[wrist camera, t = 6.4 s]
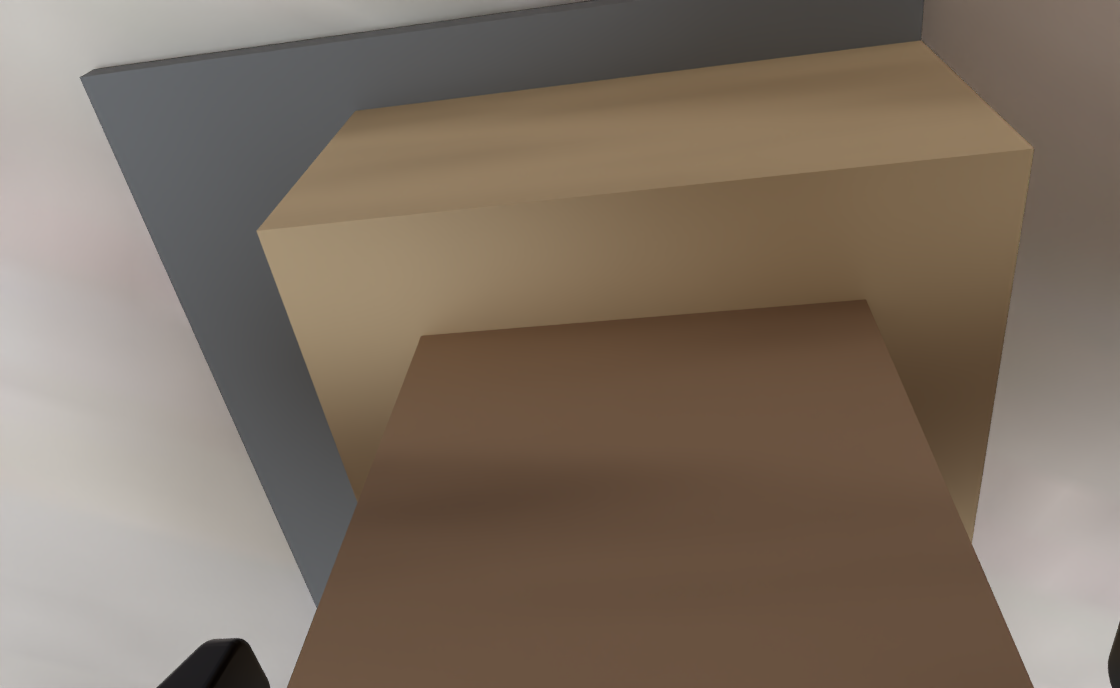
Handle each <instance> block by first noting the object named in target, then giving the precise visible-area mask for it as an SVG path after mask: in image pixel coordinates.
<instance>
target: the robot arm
mask: <svg viewBox="0 0 1120 688" xmlns="http://www.w3.org/2000/svg"><path fill="white" fill-rule="evenodd" d="M1108 673H1109V678H1110V683H1111V686H1112V688H1120V623H1119V626H1118V629H1117V632H1116V636H1115V639H1114V642H1113V645H1112V649H1111V652H1110V655H1109V660H1108ZM157 688H270V685H269V681H268V679H267V677H266V675H265V673H264V672H263V670H262V668H261V666H260V664H259V662H258V660H257V658H256V656H255V654H254V653H253V651H252V649H251V647H250V645H249V644H248V642H246V641H245V640H243V639H240V638H230V639H213V640H209V641H207V642H205V643H204V644H202V645H201V646H200V647H198V648H197V649H196V650H195V651H194V652H193V653H192V654H191V655H190V656H189V657H188V658H187V659H186V660H185V661H184V662H183V663H182V664H181V665H180V666H179V667H178V668H177V669H176V670H174V671H173V672H172V673H171V674H170V675H169V676H168V677H167V678H166V679H165V680H164V681H163V682H162V683H161V684H160V685H159V686H158V687H157Z"/></svg>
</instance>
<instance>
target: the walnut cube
mask: <svg viewBox="0 0 1120 688" xmlns="http://www.w3.org/2000/svg"><path fill="white" fill-rule="evenodd" d="M287 688H1034V687H1033V685H1032V682H1031V680H1030V678H1029V675H1028V673H1027V671H1026V668H1025V666H1024V664H1023V661H1022V659H1021V657H1020V655H1019V652H1018V650H1017V648H1016V645H1015V643H1014V641H1013V638H1012V636H1011V634H1010V631H1009V629H1008V627H1007V624H1006V622H1005V620H1004V618H1003V615H1002V613H1001V611H1000V608H999V606H998V604H997V601H996V599H995V597H994V594H993V592H992V590H991V587H990V585H989V583H988V581H987V578H986V576H985V574H984V571H983V569H982V567H981V564H980V562H979V560H978V557H977V555H976V553H975V550H974V548H973V546H972V544H971V541H970V539H969V537H968V534H967V532H966V530H965V527H964V525H963V523H962V520H961V518H960V516H959V513H958V511H957V509H956V507H955V504H954V502H953V500H952V497H951V495H950V493H949V490H948V488H947V486H946V483H945V481H944V479H943V476H942V474H941V472H940V470H939V467H938V465H937V463H936V460H935V458H934V456H933V453H932V451H931V449H930V446H929V444H928V442H927V439H926V437H925V435H924V433H923V430H922V428H921V426H920V423H919V421H918V419H917V416H916V414H915V412H914V409H913V407H912V405H911V402H910V400H909V398H908V396H907V393H906V391H905V389H904V386H903V384H902V382H901V379H900V377H899V375H898V372H897V370H896V368H895V365H894V363H893V361H892V359H891V356H890V354H889V352H888V349H887V347H886V345H885V342H884V340H883V338H882V335H881V333H880V331H879V328H878V326H877V324H876V322H875V319H874V317H873V315H872V312H871V310H870V308H869V305H868V303H867V301H866V299H864V300H852V301H840V302H828V303H815V304H803V305H791V306H779V307H766V308H754V309H742V310H730V311H718V312H705V313H693V314H681V315H669V316H656V317H644V318H632V319H620V320H608V321H595V322H583V323H571V324H559V325H547V326H534V327H522V328H510V329H498V330H485V331H473V332H461V333H449V334H437V335H424V336H421V337H420V340H419V343H418V345H417V348H416V350H415V353H414V356H413V358H412V361H411V364H410V366H409V369H408V371H407V374H406V377H405V379H404V382H403V385H402V387H401V390H400V392H399V395H398V398H397V400H396V403H395V405H394V408H393V411H392V413H391V416H390V419H389V421H388V424H387V426H386V429H385V432H384V434H383V437H382V440H381V442H380V445H379V447H378V450H377V453H376V455H375V458H374V461H373V463H372V466H371V468H370V471H369V474H368V476H367V479H366V482H365V484H364V487H363V489H362V492H361V495H360V497H359V500H358V503H357V505H356V508H355V510H354V513H353V516H352V518H351V521H350V524H349V526H348V529H347V531H346V534H345V537H344V539H343V542H342V545H341V547H340V550H339V552H338V555H337V558H336V560H335V563H334V566H333V568H332V571H331V573H330V576H329V579H328V581H327V584H326V587H325V589H324V592H323V594H322V597H321V600H320V602H319V605H318V608H317V610H316V613H315V615H314V618H313V621H312V623H311V626H310V629H309V631H308V634H307V636H306V639H305V642H304V644H303V647H302V650H301V652H300V655H299V657H298V660H297V663H296V665H295V668H294V671H293V673H292V676H291V678H290V681H289V684H288V686H287Z"/></svg>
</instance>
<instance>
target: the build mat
mask: <svg viewBox="0 0 1120 688" xmlns="http://www.w3.org/2000/svg"><path fill="white" fill-rule="evenodd" d="M923 7H924V0H593V1H586V2H579V3H572V4H564V5H557V6H550V7H543V8H535V9H528V10H521V11H514V12H507V13H499V14H492V15H485V16H478V17H470V18H463V19H456V20H449V21H441V22H434V23H427V24H420V25H412V26H405V27H398V28H391V29H383V30H376V31H369V32H362V33H354V34H347V35H340V36H333V37H325V38H318V39H311V40H304V41H296V42H289V43H282V44H275V45H268V46H260V47H253V48H246V49H239V50H231V51H224V52H217V53H210V54H202V55H195V56H188V57H181V58H173V59H166V60H159V61H152V62H144V63H137V64H130V65H123V66H115V67H108V68H101V69H94V70H92V71H90V72H88V73H87V74H85V75H83V76H81V77H80V79H81V81H82V83H83V86H84V88H85V90H86V92H87V95H88V97H89V99H90V101H91V104H92V106H93V108H94V110H95V112H96V115H97V117H98V119H99V121H100V124H101V126H102V128H103V130H104V133H105V135H106V137H107V139H108V142H109V144H110V146H111V148H112V151H113V153H114V155H115V157H116V160H117V162H118V164H119V166H120V168H121V171H122V173H123V175H124V177H125V180H126V182H127V184H128V186H129V189H130V191H131V193H132V195H133V198H134V200H135V202H136V204H137V207H138V209H139V211H140V213H141V215H142V218H143V220H144V222H145V224H146V227H147V229H148V231H149V233H150V236H151V238H152V240H153V242H154V245H155V247H156V249H157V251H158V254H159V256H160V258H161V260H162V262H163V265H164V267H165V269H166V271H167V274H168V276H169V278H170V280H171V283H172V285H173V287H174V289H175V292H176V294H177V296H178V298H179V301H180V303H181V305H182V307H183V309H184V312H185V314H186V316H187V318H188V321H189V323H190V325H191V327H192V330H193V332H194V334H195V336H196V339H197V341H198V343H199V345H200V348H201V350H202V352H203V354H204V356H205V359H206V361H207V363H208V365H209V368H210V370H211V372H212V374H213V377H214V379H215V381H216V383H217V386H218V388H219V390H220V392H221V395H222V397H223V399H224V401H225V403H226V406H227V408H228V410H229V412H230V415H231V417H232V419H233V421H234V424H235V426H236V428H237V430H238V433H239V435H240V437H241V439H242V442H243V444H244V446H245V448H246V451H247V453H248V455H249V457H250V459H251V462H252V464H253V466H254V468H255V471H256V473H257V475H258V477H259V480H260V482H261V484H262V486H263V489H264V491H265V493H266V495H267V498H268V500H269V502H270V504H271V506H272V509H273V511H274V513H275V515H276V518H277V520H278V522H279V524H280V527H281V529H282V531H283V533H284V536H285V538H286V540H287V542H288V545H289V547H290V549H291V551H292V553H293V556H294V558H295V560H296V562H297V565H298V567H299V569H300V571H301V574H302V576H303V578H304V580H305V583H306V585H307V587H308V589H309V592H310V594H311V596H312V598H313V600H314V603H315V605H316V607H317V608H318V605H319V602H320V600H321V597H322V594H323V592H324V589H325V587H326V584H327V581H328V579H329V576H330V573H331V571H332V568H333V566H334V563H335V560H336V558H337V555H338V552H339V550H340V547H341V545H342V542H343V539H344V537H345V534H346V531H347V529H348V526H349V524H350V521H351V518H352V516H353V513H354V510H355V508H356V505H357V500H356V497H355V495H354V492H353V489H352V487H351V484H350V481H349V479H348V476H347V473H346V470H345V468H344V465H343V462H342V460H341V457H340V454H339V452H338V449H337V446H336V444H335V441H334V438H333V436H332V433H331V430H330V427H329V425H328V422H327V419H326V417H325V414H324V411H323V409H322V406H321V403H320V401H319V398H318V395H317V392H316V390H315V387H314V384H313V382H312V379H311V376H310V374H309V371H308V368H307V366H306V363H305V360H304V358H303V355H302V352H301V349H300V347H299V344H298V341H297V339H296V336H295V333H294V331H293V328H292V325H291V323H290V320H289V317H288V314H287V312H286V309H285V306H284V304H283V301H282V298H281V296H280V293H279V290H278V288H277V285H276V282H275V280H274V277H273V274H272V271H271V269H270V266H269V263H268V261H267V258H266V255H265V253H264V250H263V247H262V245H261V242H260V239H259V236H258V234H257V230H258V228H259V227H260V226H261V225H262V224H263V222H264V221H265V220H266V219H267V218H268V216H269V215H270V214H271V213H272V211H273V210H274V209H275V208H276V207H277V205H278V204H279V203H280V202H281V201H282V199H283V198H284V197H285V196H286V194H287V193H288V192H289V191H290V190H291V188H292V187H293V186H294V185H295V184H296V182H297V181H298V180H299V179H300V177H301V176H302V175H303V174H304V173H305V171H306V170H307V169H308V168H309V167H310V165H311V164H312V163H313V162H314V160H315V159H316V158H317V157H318V156H319V154H320V153H321V152H322V151H323V150H324V148H325V147H326V146H327V145H328V144H329V142H330V141H331V140H332V139H333V137H334V136H335V135H336V134H337V133H338V131H339V130H340V129H341V128H342V127H343V125H344V124H345V123H346V122H347V120H348V119H349V118H350V117H351V116H352V114H353V113H354V112H355V111H359V110H367V109H375V108H383V107H391V106H399V105H407V104H415V103H423V102H431V101H439V100H447V99H455V98H463V97H471V96H479V95H487V94H495V93H503V92H511V91H519V90H527V89H535V88H543V87H551V86H559V85H567V84H576V83H584V82H592V81H600V80H608V79H616V78H624V77H632V76H640V75H648V74H656V73H664V72H672V71H680V70H688V69H696V68H704V67H712V66H720V65H728V64H736V63H744V62H752V61H760V60H768V59H776V58H784V57H792V56H800V55H808V54H816V53H824V52H832V51H840V50H848V49H856V48H864V47H872V46H880V45H888V44H896V43H904V42H912V41H920V40H921V32H922V20H923Z"/></svg>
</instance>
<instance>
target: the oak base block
mask: <svg viewBox="0 0 1120 688" xmlns="http://www.w3.org/2000/svg"><path fill="white" fill-rule="evenodd" d="M1033 153H1034V148H1033V147H1032V146H1031V145H1030V144H1029V143H1028V142H1027V141H1026V140H1025V139H1024V138H1023V137H1022V136H1021V135H1020V134H1018V133H1017V132H1016V131H1015V130H1014V129H1013V128H1012V127H1011V126H1010V125H1009V124H1008V123H1007V122H1006V121H1005V120H1004V119H1003V118H1002V117H1001V116H1000V115H999V114H998V113H996V112H995V111H994V110H993V109H992V108H991V107H990V106H989V105H988V104H987V103H986V102H985V101H984V100H983V99H982V98H981V97H980V96H979V95H978V94H977V93H975V92H974V91H973V90H972V89H971V88H970V87H969V86H968V85H967V84H966V83H965V82H964V81H963V80H962V79H961V78H960V77H959V76H958V75H957V74H956V73H955V72H953V71H952V70H951V69H950V68H949V67H948V66H947V65H946V64H945V63H944V62H943V61H942V60H941V59H940V58H939V57H938V56H937V55H936V54H935V53H934V52H932V51H931V50H930V49H929V48H928V47H927V46H926V45H925V44H924V43H923V42H922V41H921V40H920V41H912V42H904V43H896V44H888V45H880V46H872V47H864V48H856V49H848V50H840V51H832V52H824V53H816V54H808V55H800V56H792V57H784V58H776V59H768V60H760V61H752V62H744V63H736V64H728V65H720V66H712V67H704V68H696V69H688V70H680V71H672V72H664V73H656V74H648V75H640V76H632V77H624V78H616V79H608V80H600V81H592V82H584V83H576V84H567V85H559V86H551V87H543V88H535V89H527V90H519V91H511V92H503V93H495V94H487V95H479V96H471V97H463V98H455V99H447V100H439V101H431V102H423V103H415V104H407V105H399V106H391V107H383V108H375V109H367V110H359V111H355V112H354V113H353V114H352V116H351V117H350V118H349V119H348V120H347V122H346V123H345V124H344V125H343V127H342V128H341V129H340V130H339V131H338V133H337V134H336V135H335V136H334V137H333V139H332V140H331V141H330V142H329V144H328V145H327V146H326V147H325V148H324V150H323V151H322V152H321V153H320V154H319V156H318V157H317V158H316V159H315V160H314V162H313V163H312V164H311V165H310V167H309V168H308V169H307V170H306V171H305V173H304V174H303V175H302V176H301V177H300V179H299V180H298V181H297V182H296V184H295V185H294V186H293V187H292V188H291V190H290V191H289V192H288V193H287V194H286V196H285V197H284V198H283V199H282V201H281V202H280V203H279V204H278V205H277V207H276V208H275V209H274V210H273V211H272V213H271V214H270V215H269V216H268V218H267V219H266V220H265V221H264V222H263V224H262V225H261V226H260V227H259V228H258V230H257V234H258V236H259V239H260V242H261V245H262V247H263V250H264V253H265V255H266V258H267V261H268V263H269V266H270V269H271V271H272V274H273V277H274V280H275V282H276V285H277V288H278V290H279V293H280V296H281V298H282V301H283V304H284V306H285V309H286V312H287V314H288V317H289V320H290V323H291V325H292V328H293V331H294V333H295V336H296V339H297V341H298V344H299V347H300V349H301V352H302V355H303V358H304V360H305V363H306V366H307V368H308V371H309V374H310V376H311V379H312V382H313V384H314V387H315V390H316V392H317V395H318V398H319V401H320V403H321V406H322V409H323V411H324V414H325V417H326V419H327V422H328V425H329V427H330V430H331V433H332V436H333V438H334V441H335V444H336V446H337V449H338V452H339V454H340V457H341V460H342V462H343V465H344V468H345V470H346V473H347V476H348V479H349V481H350V484H351V487H352V489H353V492H354V495H355V497H356V500H357V503H358V500H359V497H360V495H361V492H362V489H363V487H364V484H365V482H366V479H367V476H368V474H369V471H370V468H371V466H372V463H373V461H374V458H375V455H376V453H377V450H378V447H379V445H380V442H381V440H382V437H383V434H384V432H385V429H386V426H387V424H388V421H389V419H390V416H391V413H392V411H393V408H394V405H395V403H396V400H397V398H398V395H399V392H400V390H401V387H402V385H403V382H404V379H405V377H406V374H407V371H408V369H409V366H410V364H411V361H412V358H413V356H414V353H415V350H416V348H417V345H418V343H419V340H420V337H421V336H424V335H437V334H449V333H461V332H473V331H485V330H498V329H510V328H522V327H534V326H547V325H559V324H571V323H583V322H595V321H608V320H620V319H632V318H644V317H656V316H669V315H681V314H693V313H705V312H718V311H730V310H742V309H754V308H766V307H779V306H791V305H803V304H815V303H828V302H840V301H852V300H864V299H866V301H867V303H868V305H869V308H870V310H871V312H872V315H873V317H874V319H875V322H876V324H877V326H878V328H879V331H880V333H881V335H882V338H883V340H884V342H885V345H886V347H887V349H888V352H889V354H890V356H891V359H892V361H893V363H894V365H895V368H896V370H897V372H898V375H899V377H900V379H901V382H902V384H903V386H904V389H905V391H906V393H907V396H908V398H909V400H910V402H911V405H912V407H913V409H914V412H915V414H916V416H917V419H918V421H919V423H920V426H921V428H922V430H923V433H924V435H925V437H926V439H927V442H928V444H929V446H930V449H931V451H932V453H933V456H934V458H935V460H936V463H937V465H938V467H939V470H940V472H941V474H942V476H943V479H944V481H945V483H946V486H947V488H948V490H949V493H950V495H951V497H952V500H953V502H954V504H955V507H956V509H957V511H958V513H959V516H960V518H961V520H962V523H963V525H964V527H965V530H966V532H967V534H968V537H969V539H970V541H971V544H972V538H973V532H974V525H975V519H976V513H977V506H978V500H979V494H980V487H981V481H982V475H983V468H984V462H985V456H986V450H987V443H988V437H989V431H990V424H991V418H992V412H993V405H994V399H995V393H996V387H997V380H998V374H999V368H1000V361H1001V355H1002V349H1003V342H1004V336H1005V330H1006V324H1007V317H1008V311H1009V305H1010V298H1011V292H1012V286H1013V279H1014V273H1015V267H1016V261H1017V254H1018V248H1019V242H1020V235H1021V229H1022V223H1023V216H1024V210H1025V204H1026V197H1027V191H1028V185H1029V179H1030V172H1031V166H1032V160H1033Z"/></svg>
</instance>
